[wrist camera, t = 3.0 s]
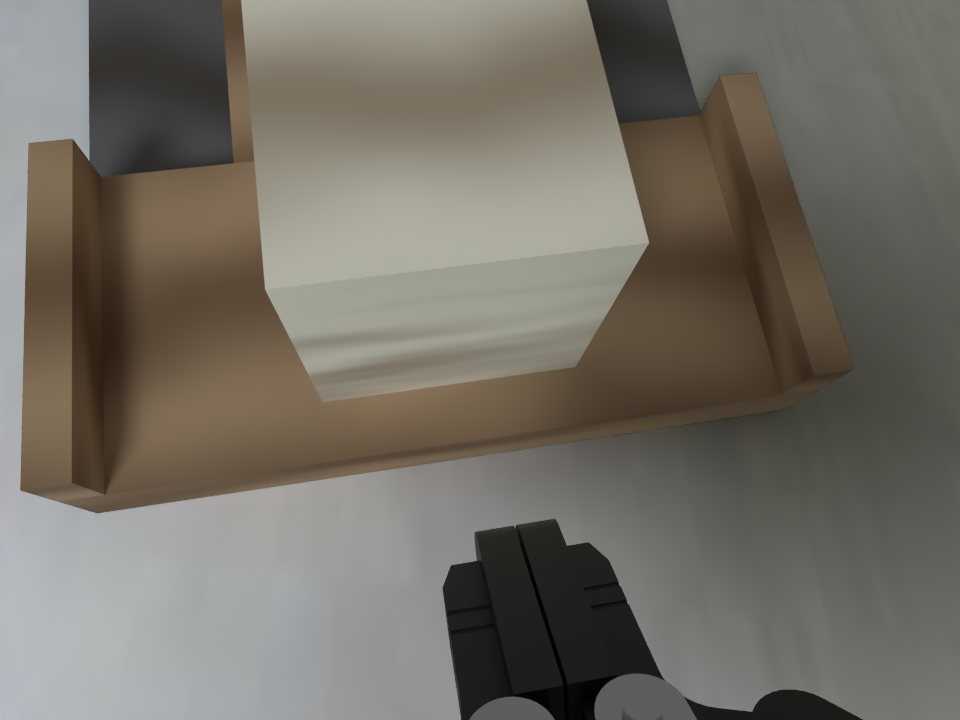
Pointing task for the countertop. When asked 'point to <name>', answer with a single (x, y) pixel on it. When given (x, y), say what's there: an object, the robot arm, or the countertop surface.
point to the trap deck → (269, 350)
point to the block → (436, 187)
